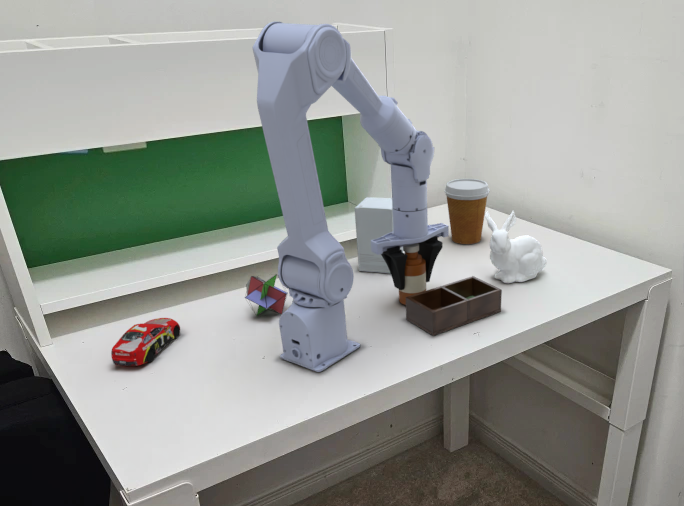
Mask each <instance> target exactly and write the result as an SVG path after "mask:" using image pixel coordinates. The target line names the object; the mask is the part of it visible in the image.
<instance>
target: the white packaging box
mask: <svg viewBox="0 0 684 506" xmlns="http://www.w3.org/2000/svg"><path fill="white" fill-rule="evenodd" d="M354 221H355V234H356V235H355V236H356V245H357V246H356V249H357V261H358V262H357V263H358V271H360V272H370V273H379V274H380V273H381V274H391V273H390V271H389V268H388V266H387V264H386V262H385V260H384V259H383V257H382V255H381V254H379V255H377V254H375V253H373V252H372V251H371V240H374V239H377V238H379V237H382V236H384V235H386V234H388V233H390V232H392V231H393V211H392V197H373V196H372V197H371V196H367V197H365V198H364V199H362V200H361V201H360V202H359V203H358V204H357V205H356V206H355V207H354ZM400 250H402V253H404V251H403V247H400Z"/></svg>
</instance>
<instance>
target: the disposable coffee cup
mask: <svg viewBox="0 0 684 506" xmlns="http://www.w3.org/2000/svg"><path fill="white" fill-rule="evenodd" d="M443 192H444V194H445V196H446V202H447V204H446V205H447V210H448V218H449V219H448V220H449V227H450V234H451V235H450V236H451V240H452V242H454V243H455V244H460V245H474V244H477V243H479V242H481V241H482V235H483V229H484V228H483V227H484V221H485V213H486V207H487V200H488V196H489V193H490V188H489V184H488V182H487V181H485V180H482V179H477V178H457V179H456V178H455V179H452V180H449V181H447V182H446V184H445V188H444V189H443Z"/></svg>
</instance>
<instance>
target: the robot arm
mask: <svg viewBox="0 0 684 506" xmlns="http://www.w3.org/2000/svg"><path fill="white" fill-rule="evenodd" d="M252 53H253V57H254V62H255V66H256V70H257V74H258V75H257V89H256V104H257V110H258V115H259V120H260V124H261V128H262V131H263V132H262V133H263V136H264V139H265V145H266V148H267V149H266V150H267V153H268V158H269V162H270V167H271V170H272V174H273V179H274V183H275V187H276V191H277V195H278V200H279V204H280V208H281V213H282V216H283V222H284V226H285V230H286V235H287V236H286V237H284V238H283V240H282V241H281V242H280V243H279V244H278V245H277V248H276V249H277V253H278V264H277V275H278V276H277V277H279V278H278V280H279V282H280V284H281V283H282V284H281V286H282V285H283V286H282V287H285V289H288V294H289V297H291V298H292V302H291V304H290V305H289V306H288V308H287V309H286V310H285V311H283V312H282V314H280V317H279V320H278V325H279V333H280V339H281V346H282V353H281V354H279V357H280V359H282V360H284V361H287V362H290V363H292V364H295V365H298V366H300V367H303V368H305V369H308V370H311V371H313V372H317V373H320V372H322V371H324V370H326V369H327V368H329V367H330V366H332V365H334V364H336V363H338V362H339V361H341V360H342V359H343V358H345V357H346V356H348V355H349V354H351V353H353V352H354V351H356V350H357V349H359V348H360V347H361V343H360V342H357V341H355V340H351V339H348V332H347V331H348V330H347V320H346V319H347V318H346V309H345V299H347V298H348V296H349V294H350V292H351V290H352V288H353V284H354V279H355V276H354V270H353V269H354V268H353V267H352V264H351V263H350V262H349V260H348V259H347V257H346V252H345V247H344V246H343V245H342V244H341V243H340V242H339V240H338V239H336V238H335V237H334V235H332V233H331V232H330V231H329V226H328V222H327V215H326V211H325V206H324V200H323V194H322V191H321V185H320V181H319V175H318V170H317V165H316V160H315V155H314V150H313V144H312V139H311V133H310V128H309V123H308V118H307V112H308V111H309V109H310V108H311V106H312V105H313V104H315V103H317V101H319V100H320V99H321V97H322V96H323V95H324V94H325V93H326V92H327V91H328V90H329V89H330V88H331V87H332V88H333V90H335V91H336V92H337V93H339V95H341V96H342V97H343V98H344V100H346V101H347V102H348V103H349V104H350V105H351V106H352V107H353V108H354V109H355V110H356V111H357V112H358V113H359V114H360V115H359V122H360V123H359V124H360V126H361V127H362V128H363V129H364V131H365V132H366V133H367V134H368V135H369V136H370V137H371V138H372V139H373V141H375V143H376V144H377V145H378V147H379V148H380V155H381V158H382V160H383V162H384V163H386V164H388V165H390V166H389V167H390V186H391V187H390V188H391V198H392V211H393V231H392V232H390V233H388V234H386V235H384V236H382V237H379V238H377V239H374V240H371V251H372V252H373V253H375V254H377V255H379V254H381V255H382V257H383V259H384V260H385V262H386V264H387V266H388V268H389V271H390V273H389V274H390V276H391V279H392V282H393V286H394V288H396V289H397V290H398V291H399V290H404V288H405V265H406V260H407V257H408V255H406V254H405V252H403V253H402V250H400V247H403V246H407V245H411V244H415V243H418V244H419V251H418V254H419V255H421V256H422V258H423V259H424V260H425V261H426V283H429V282H430V281H431V276H432V272H433V269H434V266H435V263H436V260H437V258H438V256H439V254H440V252H441V251H442V249H443V241H441V240H439V238H441V237H442V238H448V237H449V235H450V233H449V232H450V231H449V229H450V228H449V227H450V225H448V224H446V223H443V222H439V223H434V224H429V221H428V219H429V217H428V215H429V214H428V179H429V178H430V175H431V166H432V162H433V160H434V157H435V146H434V145H433V141H432V139H431V137H430V136H429V135H428V134H427V133H426V132H425V131H423V130H417V129H416V128H415V126H414V125H413V122H412V120H411V118H408V117H407V116H406V115H405V114H404V113H403V111H402V110H401V109H400V107H399V106H398V100H396V99H395V97H390V96H388V95H379V94H378V93H377V92H376V90H375V89H374V87H373V86H372V85H371V83H370V81H369V80H368V79H367V77H366V76H365V74H364V73H363V71H362V70H361V69H360V68H359V66H358V65H357V63H356V62H355V60H354V59H353V57H352V49H351V44H350V43H349V42H348V41H347V40H346V39H345V38H344V37H343V35H342V33H341V32H340V30H339V29H338V28H337V27H336V26H334V25H332V24H331V23H319V24H312V23H311V24H310V23H309V24H308V23H289V22H282V21H274V20H273V21H270V22H269V23H268V22H267V24H265V26H264V27H263V28H262V29H261V31H260V33H259V34H258V37H257V38H256V40H255V42H254V43H253V45H252Z"/></svg>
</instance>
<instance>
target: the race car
mask: <svg viewBox="0 0 684 506" xmlns="http://www.w3.org/2000/svg"><path fill="white" fill-rule="evenodd" d="M180 334H181V325H180V324H179V323H178V321H176V320H175V319H173V318H171V317H159V318H153V319H149V320H147V321H146V322H144V323H137V324H133V325H132V326H131V327H130V328H128V329H127V330H126V331H125V332H124V333H123V334H122V335H121V337H120V338H119V339H118V340H117V341H116V343H115V344H114V345H113V346H112V348H111V350H110V351H111V352H110V354H111V355H110V356H111V360H112V363H113V364H114V365H115V366H128V367H129V366H130V367H134V366H136V367H137V366H141V365H144V364H147V363H151V362H153V361H154V359H155V356H157V355H158V354H159V352H161V351H162V350H163V349H164V348H165V347H166V346H168V345H169V344H170V343H171V342H172V341H173V340H174V339H175V338H179V336H180Z"/></svg>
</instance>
